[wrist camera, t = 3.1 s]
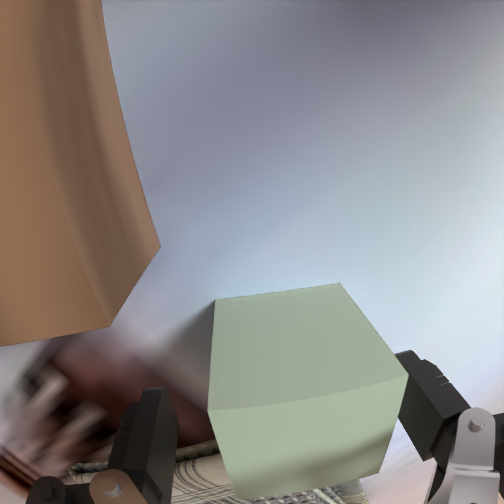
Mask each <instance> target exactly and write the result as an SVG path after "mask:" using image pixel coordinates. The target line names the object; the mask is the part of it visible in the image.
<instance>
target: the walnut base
mask: <svg viewBox="0 0 504 504" xmlns="http://www.w3.org/2000/svg"><path fill="white" fill-rule="evenodd" d="M160 247H161V246H160V243H159V240H158V237H157V234H156V231H155V228H154V225H153V222H152V219H151V216H150V212H149V209H148V206H147V203H146V199H145V196H144V193H143V189H142V186H141V183H140V179H139V176H138V172H137V169H136V165H135V161H134V158H133V154H132V150H131V147H130V143H129V139H128V135H127V131H126V127H125V123H124V119H123V115H122V110H121V106H120V102H119V97H118V93H117V88H116V84H115V79H114V74H113V69H112V64H111V59H110V54H109V48H108V43H107V37H106V31H105V25H104V18H103V12H102V5H101V0H0V347H1V346H8V345H14V344H20V343H26V342H31V341H37V340H43V339H48V338H54V337H59V336H65V335H70V334H75V333H80V332H85V331H90V330H95V329H100V328H105V327H110V325H111V324H112V322H113V320H114V319H115V317H116V315H117V314H118V312H119V310H120V309H121V307H122V306H123V304H124V302H125V301H126V299H127V297H128V296H129V294H130V293H131V291H132V290H133V288H134V286H135V285H136V283H137V282H138V280H139V279H140V277H141V276H142V274H143V272H144V271H145V269H146V268H147V266H148V265H149V263H150V262H151V260H152V259H153V257H154V256H155V254H156V253H157V251H158V250H159V248H160Z"/></svg>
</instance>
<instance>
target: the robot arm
mask: <svg viewBox="0 0 504 504" xmlns="http://www.w3.org/2000/svg"><path fill="white" fill-rule="evenodd" d="M394 355H395V356H396V358H397V359H398V361H399V362H400V363H401V365H402V366H403V367H404V369H405V370H406V372H407V373H408V374H409V375H408V380H407V384H406V388H405V392H404V396H403V399H402V403H401V407H400V410H399V414H398V418H399V420H400V422H401V423H402V425H403V427H404V429H405V430H406V432H407V434H408V436H409V437H410V439H411V441H412V443H413V444H414V446H415V448H416V450H417V451H418V453H419V455H420V457H421V458H422V460H423V461H426V460H428V459H430V458H433V457H434V458H435V460H436V463H435V466H434V469H433V473H432V477H431V481H430V484H429V488H428V491H427V495H426V498H425V501H424V504H497V499H498V491H499V492H500V494H501V496H502V498H503V499H504V413H501V414H495V415H492V414H491V413H490V412H488V411H487V410H485V409H482V408H471V407H470V406H469V404H468V403H467V402H466V401H465V400H464V398H463V397H462V396H461V395H460V393H459V392H458V391H457V390H456V389H455V387H454V386H453V385H452V384H451V383H449V380H448V379H447V378H446V377H445V376H443V373H442V372H441V371H440V370H439V369H438V367H437V366H436V365H434V364H432V363H431V362H429V361H427V360H425V359H424V360H420V359H419V357H418V356H417V355H416V354H415V353H414V352H413V351H412V350H408V351H404V352H400V353H397V354H394ZM178 433H179V424H178V418H177V415H176V412H175V409H174V407H173V404H172V401H171V398H170V396H169V393H168V390H167V388H166V387H154V388H144V390H143V393H142V396H141V400H140V402H132V403H131V404H130V405H129V406H128V407H127V408H126V410H125V411H124V412H123V415H122V418H121V421H120V425H119V428H118V431H117V434H116V437H115V441H114V444H113V447H112V451H111V454H110V458H109V461H108V465H107V467H106V470H104V471H101V472H99V473H98V474H96V475H95V476H94V477H93V478H92V480H91V482H89V483H83V484H74V485H64V484H63V483H62V481H61V480H59V479H58V478H56V477H52V476H45V477H42V478H39V479H38V480H36V481H35V482H34V483H33V485H32V486H31V489H30V491H29V495H28V498H27V501H26V504H171V496H172V486H173V477H174V467H175V458H176V450H177V441H178Z"/></svg>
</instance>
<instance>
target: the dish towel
mask: <svg viewBox="0 0 504 504" xmlns="http://www.w3.org/2000/svg"><path fill="white" fill-rule="evenodd" d="M107 465H108V461H105V462H95V463H85V464H83V463H76V464H75V465H73V466H71V467H70V468H69V470H68V471H69V474H70V475H71V477H72V478H73V479H74V480H75V481H76V482H77V483H78V484H83V483H89V482H91V480H92V478H93V477H94V476H95V475H96V474H98V473H99V472H101V471H104V470H106V467H107ZM171 504H369V502H368V500H367V499H366V495H365V493H364V491H363V489H362V487H361V485H360V481H359V479H356V480H352V481H349V482H345V483H341V484H336V485H332V486H328V487H323V488H318V489H313V490H308V491H302V492H296V493H290V494H284V495H276V496H268V497H259V498H249V499H237V497H236V495H235V492H234V489H233V487H232V484H231V481H230V478H229V476H228V473H227V470H226V467H225V464H224V461H223V458H222V455H221V452H220V449H219V446H218V443H217V440H216V439H213V440H210V441H205V442H202V443H199V444H195V445H191V446H187V447H183V448H179V449H177V450H176V458H175V467H174V477H173V486H172V496H171Z"/></svg>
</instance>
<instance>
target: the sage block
mask: <svg viewBox="0 0 504 504" xmlns="http://www.w3.org/2000/svg"><path fill="white" fill-rule="evenodd" d="M408 375H409V374H408V373H407V372H406V370H405V369H404V367H403V366H402V365H401V363H400V362H399V361H398V359H397V358H396V356H395V355H394V354H393V352H392V351H391V350H390V348H389V347H388V346H387V344H386V343H385V341H384V340H383V339H382V337H381V336H380V335H379V333H378V332H377V331H376V329H375V328H374V327H373V325H372V324H371V323H370V321H369V320H368V319H367V317H366V316H365V315H364V314H363V312H362V311H361V310H360V308H359V307H358V306H357V304H356V303H355V302H354V301H353V299H352V298H351V297H350V295H349V294H348V293H347V292H346V290H345V289H344V288H343V286H342V285H341V284H340V283H335V284H329V285H322V286H315V287H308V288H301V289H294V290H287V291H280V292H272V293H264V294H257V295H249V296H241V297H232V298H224V299H215V311H214V323H213V336H212V349H211V363H210V377H209V393H208V410H207V411H208V415H209V418H210V421H211V424H212V428H213V431H214V434H215V437H216V440H217V443H218V446H219V449H220V452H221V455H222V458H223V461H224V464H225V467H226V470H227V473H228V476H229V478H230V481H231V484H232V487H233V489H234V492H235V495H236V497H237V499H249V498H259V497H268V496H276V495H284V494H290V493H296V492H302V491H308V490H313V489H318V488H323V487H328V486H332V485H336V484H341V483H345V482H349V481H352V480H356V479H360V478H363V477H367V476H370V475H374V474H377V473H379V470H380V468H381V465H382V462H383V460H384V457H385V454H386V451H387V448H388V445H389V442H390V439H391V436H392V433H393V430H394V427H395V424H396V420H397V417H398V414H399V410H400V407H401V403H402V399H403V396H404V392H405V388H406V384H407V380H408Z"/></svg>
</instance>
